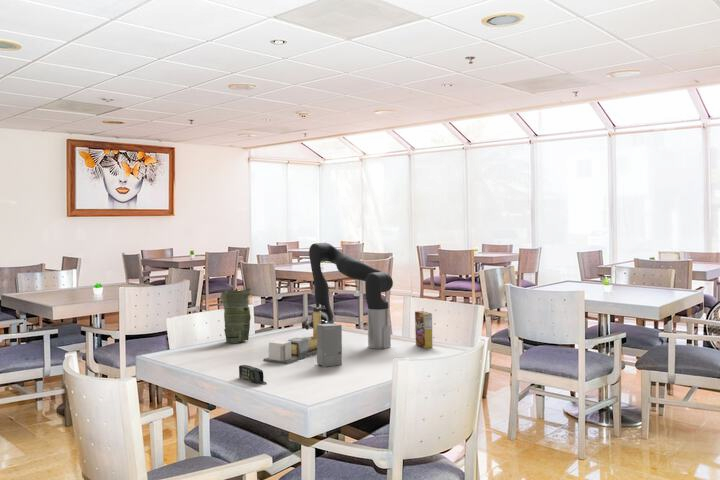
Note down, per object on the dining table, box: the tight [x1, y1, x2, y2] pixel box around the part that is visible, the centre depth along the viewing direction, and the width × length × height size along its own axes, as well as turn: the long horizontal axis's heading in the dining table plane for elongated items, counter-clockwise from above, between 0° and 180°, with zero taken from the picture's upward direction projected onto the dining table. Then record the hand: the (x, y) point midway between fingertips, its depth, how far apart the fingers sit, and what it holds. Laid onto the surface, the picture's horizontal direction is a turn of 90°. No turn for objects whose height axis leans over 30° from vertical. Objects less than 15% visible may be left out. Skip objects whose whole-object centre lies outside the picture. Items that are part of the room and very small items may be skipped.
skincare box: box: [316, 323, 343, 368], centre depth 236 cm, size 8×7×16 cm
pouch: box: [220, 288, 252, 344], centre depth 284 cm, size 11×12×25 cm
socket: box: [268, 339, 291, 361], centre depth 243 cm, size 6×7×7 cm
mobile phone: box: [238, 364, 267, 385], centre depth 212 cm, size 5×3×15 cm
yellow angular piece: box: [291, 306, 322, 355], centre depth 258 cm, size 20×4×17 cm, turn 150°
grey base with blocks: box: [262, 337, 317, 365], centre depth 254 cm, size 32×12×6 cm, turn 150°
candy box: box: [414, 310, 433, 349], centre depth 269 cm, size 9×4×15 cm, turn 23°
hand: (316, 327), depth 265 cm, fingers open, 8 cm apart
